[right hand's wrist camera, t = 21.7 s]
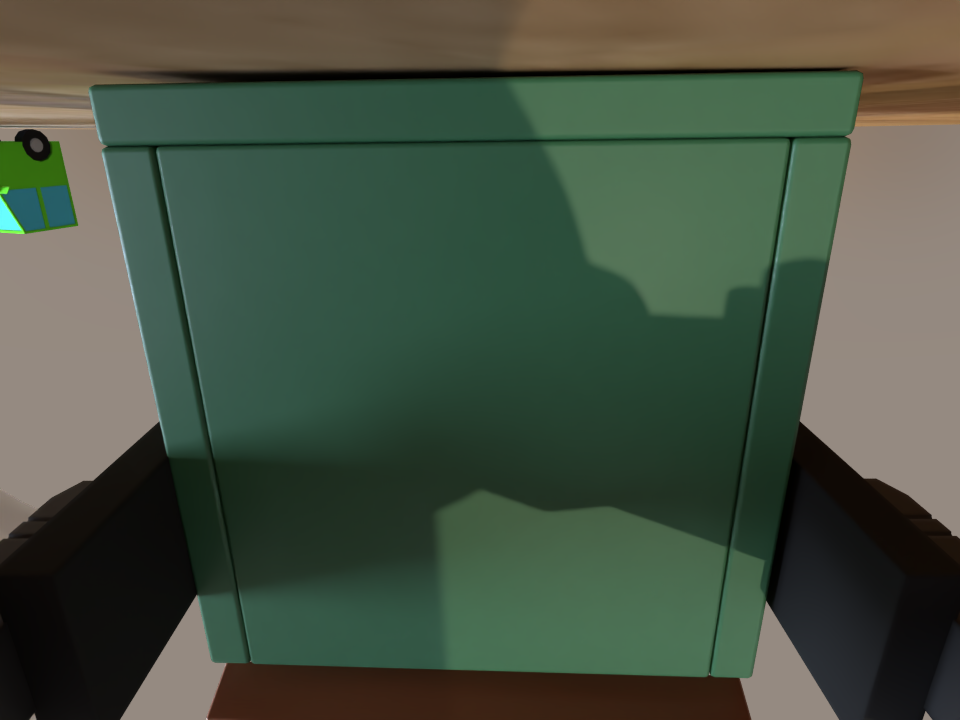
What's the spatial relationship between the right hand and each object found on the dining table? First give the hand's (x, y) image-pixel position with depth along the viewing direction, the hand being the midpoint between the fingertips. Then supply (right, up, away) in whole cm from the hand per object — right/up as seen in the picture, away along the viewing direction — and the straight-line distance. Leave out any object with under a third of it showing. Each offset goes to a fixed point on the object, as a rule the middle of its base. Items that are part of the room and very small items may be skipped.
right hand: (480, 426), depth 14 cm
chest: (0, +8, +1) cm, 8 cm away
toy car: (-50, +24, +46) cm, 72 cm away
